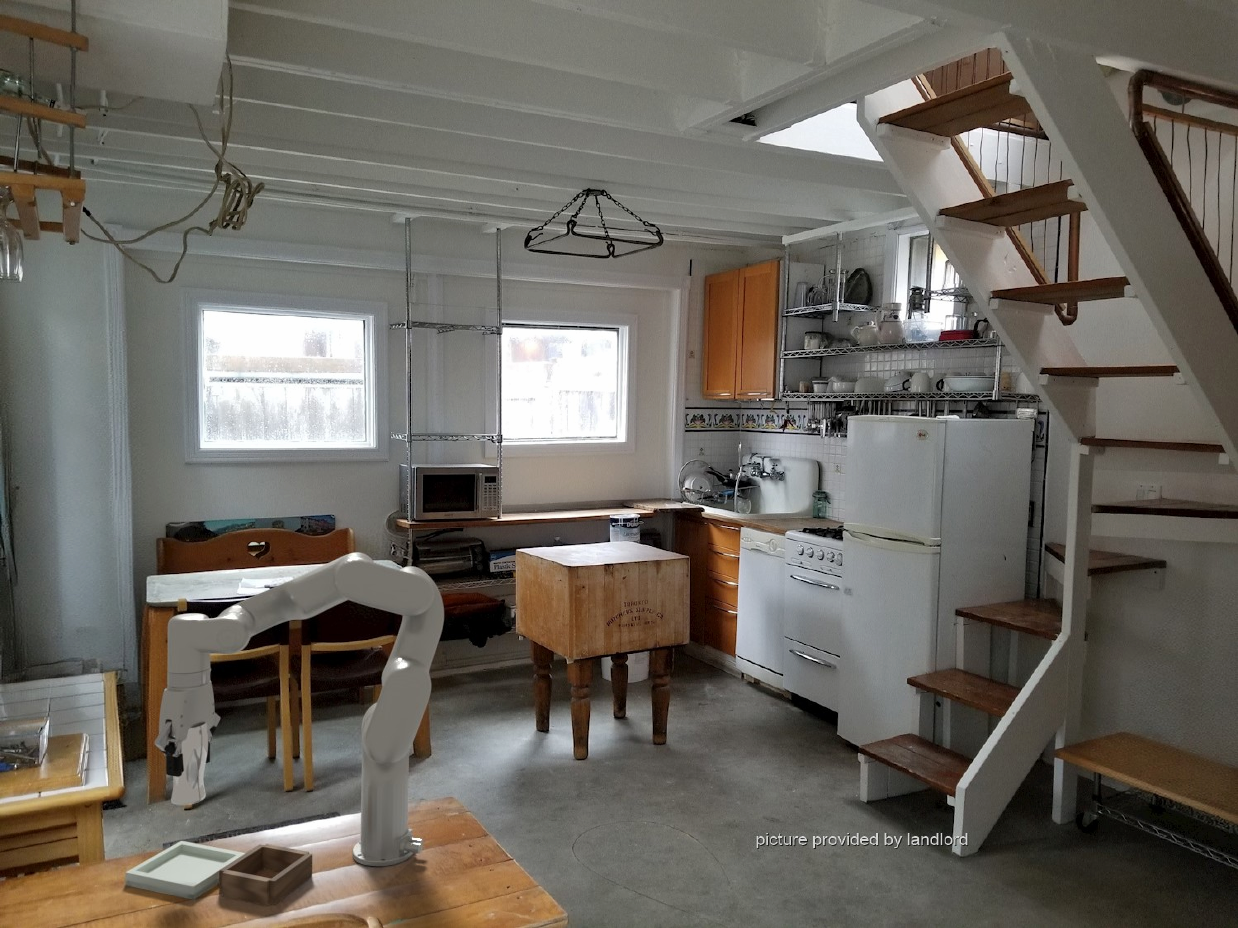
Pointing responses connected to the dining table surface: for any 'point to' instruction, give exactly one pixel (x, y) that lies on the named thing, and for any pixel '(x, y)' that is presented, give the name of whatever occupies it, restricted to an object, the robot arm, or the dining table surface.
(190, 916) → the dining table surface
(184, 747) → the beer glass
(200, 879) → the sage tray
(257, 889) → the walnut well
